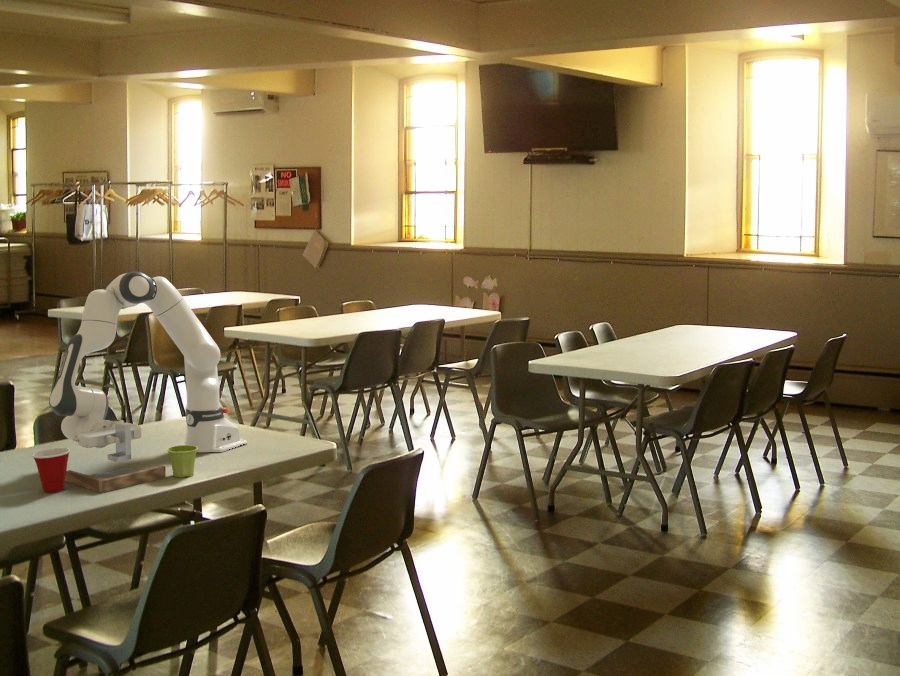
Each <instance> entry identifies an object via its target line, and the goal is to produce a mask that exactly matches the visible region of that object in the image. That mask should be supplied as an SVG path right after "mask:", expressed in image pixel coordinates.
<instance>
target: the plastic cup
mask: <svg viewBox="0 0 900 676" xmlns="http://www.w3.org/2000/svg"><path fill="white" fill-rule="evenodd" d="M70 451H71V449H70V448H68V447H55V448H48V449H43V450H39V451H36V452H34V453H32V454H31V457H32V458H33V459H34V461H35V465H36V468H37V473H38V476H39V480H40V483H41V488H42V491H43V493H46V492H47V493H48V494H53V492H56V493H59V491H60V492H62V490H63V491H64V489H65V485H66V484H65V483H66V471H68V469H67V468H68V461H69V454H70Z"/></svg>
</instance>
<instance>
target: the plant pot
mask: <svg viewBox="0 0 900 676" xmlns="http://www.w3.org/2000/svg"><path fill="white" fill-rule="evenodd" d="M197 450H198V447H197V446H193V445H184V444H181V445H174V446H169V447H167V449H166V451H167V452H168V456H169V459H170V463H171V464H170V465H171V470H172V474H173V476H174V477H175V478H182V479H183V478H185V477H192V476H193V475H194V474H195V473H194V472H195V463H196V455H197V453H198V452H197Z"/></svg>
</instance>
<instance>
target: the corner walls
mask: <svg viewBox="0 0 900 676" xmlns="http://www.w3.org/2000/svg"><path fill="white" fill-rule="evenodd" d="M140 470H141V469H140ZM166 471H167V469H166V466H164V465H159V466H155V467H151V468H147V469H142V470H141V471H137V472H133V473H128V474H124V475H120V476H115V477H111V478H107V479H100V478H97V477H93V475H89V474H86V473H82V472H77V471H74V470H70V469H68V470H67V471H66V479H65V483H67V482H69V483H68V484H70V483H72V484H71V485H74V484H75V485H74V486H77V485H79V486H78V487H81V486H82V487H81V488H84V487H86V488H85V489H88V488H89V489H88V490H91V489H92V490H91V491H95V490H96V491H95V492H98V491H99V493H101V492H104V493H107V492H111V491H110V490H112V491H115V490H114V489H116V490H119V489H118V488H120V489H123V488H122V487H124V488H127V486H128V487H131V486H137V485H140V484H143V483H149V482H152V481H157V480H159V479H164V478H167V477H166V475H167V474H166V473H167V472H166ZM106 491H107V492H106Z"/></svg>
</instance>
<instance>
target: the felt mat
mask: <svg viewBox="0 0 900 676" xmlns="http://www.w3.org/2000/svg"><path fill="white" fill-rule="evenodd" d="M137 471H141V469H136V468H133V467H129V466H128V467H124V468H120V469H115V470H111V471H106V472H101V473H99V474H95V475H92V476H93V477H97V478H100V479H107V478H111V477H115V476H120V475H124V474H128V473H133V472H137Z"/></svg>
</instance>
